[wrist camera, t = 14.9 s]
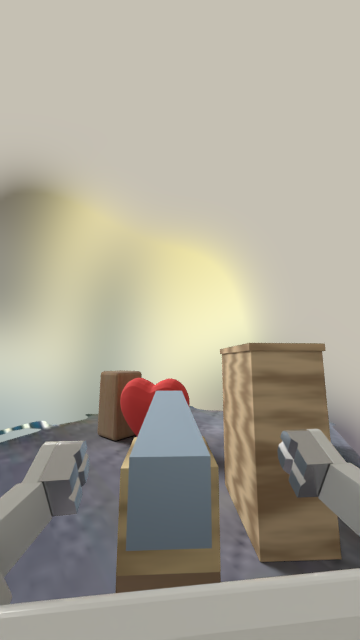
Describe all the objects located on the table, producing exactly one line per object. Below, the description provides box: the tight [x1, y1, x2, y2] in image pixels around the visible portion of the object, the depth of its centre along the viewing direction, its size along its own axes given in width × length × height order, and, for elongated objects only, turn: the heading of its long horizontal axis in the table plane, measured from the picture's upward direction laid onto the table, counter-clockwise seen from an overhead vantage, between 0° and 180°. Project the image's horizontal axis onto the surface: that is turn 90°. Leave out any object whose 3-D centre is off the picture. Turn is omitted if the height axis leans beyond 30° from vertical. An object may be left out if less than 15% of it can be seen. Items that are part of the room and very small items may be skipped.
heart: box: [120, 378, 189, 437], centre depth 65 cm, size 20×9×19 cm, turn 72°
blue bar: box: [126, 391, 212, 551], centre depth 24 cm, size 26×4×4 cm, turn 3°
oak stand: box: [220, 343, 342, 562], centre depth 40 cm, size 19×11×26 cm, turn 3°
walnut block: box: [116, 572, 221, 593], centre depth 22 cm, size 8×8×8 cm
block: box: [98, 371, 141, 441], centre depth 78 cm, size 10×10×20 cm
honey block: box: [116, 437, 220, 576], centre depth 23 cm, size 8×8×8 cm
